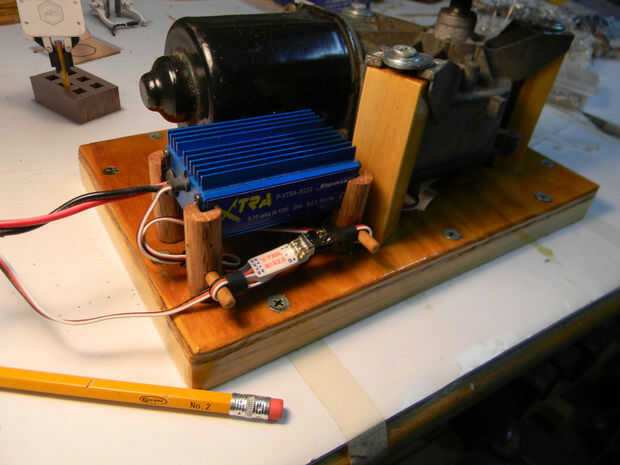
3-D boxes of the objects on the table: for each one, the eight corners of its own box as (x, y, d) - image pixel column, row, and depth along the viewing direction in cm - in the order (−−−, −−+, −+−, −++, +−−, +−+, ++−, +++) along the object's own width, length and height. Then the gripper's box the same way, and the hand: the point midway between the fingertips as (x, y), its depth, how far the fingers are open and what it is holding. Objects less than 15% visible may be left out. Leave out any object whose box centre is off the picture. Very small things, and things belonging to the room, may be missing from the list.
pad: (66, 67, 112) (65, 64, 112) (33, 52, 116) (33, 49, 116) (120, 52, 123) (120, 50, 123) (89, 39, 127) (88, 36, 127)
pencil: (70, 110, 96) (56, 42, 87) (66, 108, 96) (52, 40, 88) (76, 108, 96) (62, 41, 88) (72, 106, 97) (58, 39, 88)
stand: (81, 128, 92) (75, 100, 89) (36, 104, 97) (29, 76, 93) (121, 113, 99) (118, 86, 95) (77, 91, 104) (72, 64, 100)
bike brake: (83, 10, 141) (113, 43, 133) (81, -14, 136) (112, 19, 128) (127, 7, 149) (158, 38, 141) (127, -15, 144) (159, 16, 136)
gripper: (-14, -34, 74) (17, 79, 86) (93, -29, 80) (108, 77, 92) (-11, -45, 79) (18, 63, 91) (90, -39, 85) (105, 62, 97)
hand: (63, 69), depth 91 cm, fingers closed on pencil, 1 cm apart
